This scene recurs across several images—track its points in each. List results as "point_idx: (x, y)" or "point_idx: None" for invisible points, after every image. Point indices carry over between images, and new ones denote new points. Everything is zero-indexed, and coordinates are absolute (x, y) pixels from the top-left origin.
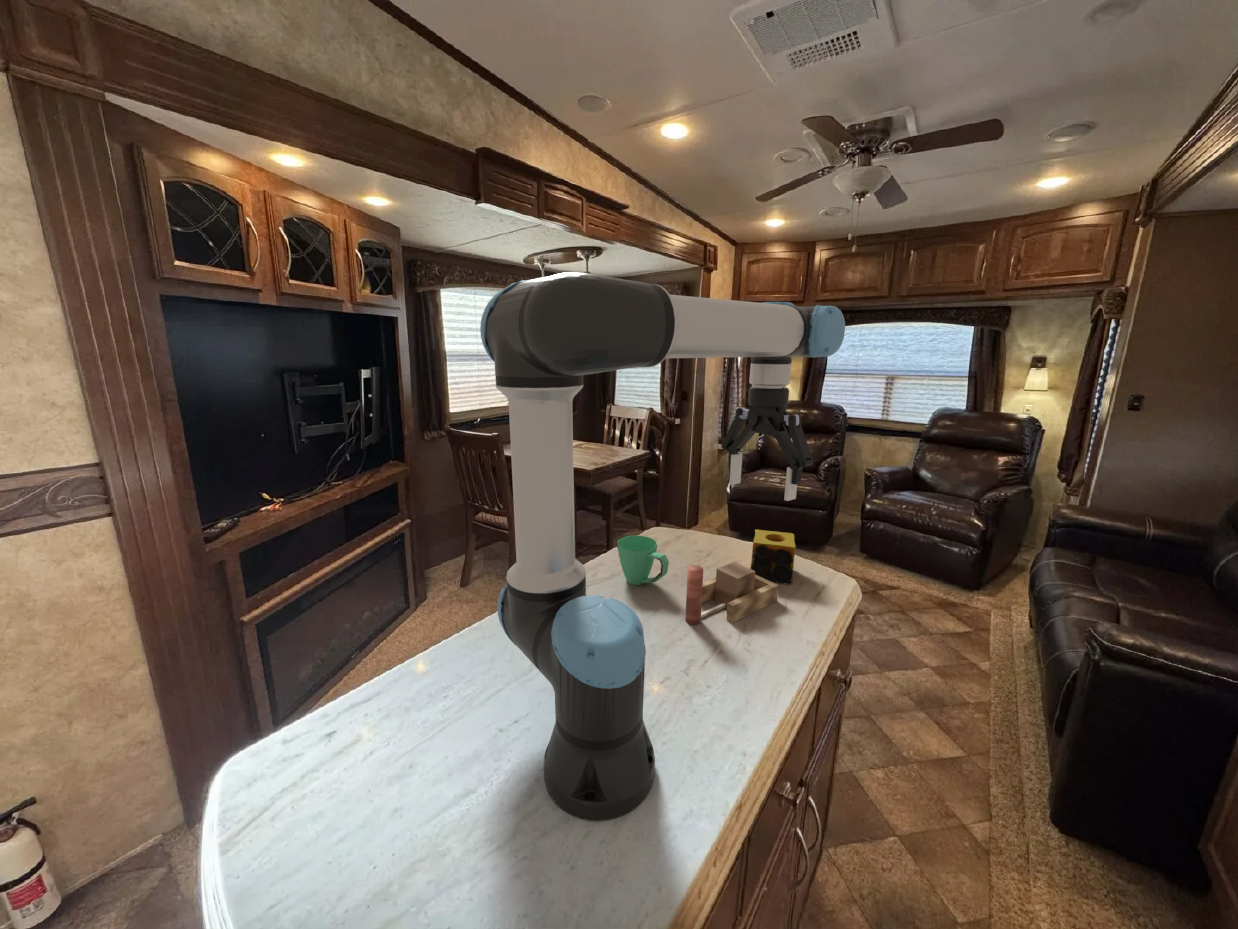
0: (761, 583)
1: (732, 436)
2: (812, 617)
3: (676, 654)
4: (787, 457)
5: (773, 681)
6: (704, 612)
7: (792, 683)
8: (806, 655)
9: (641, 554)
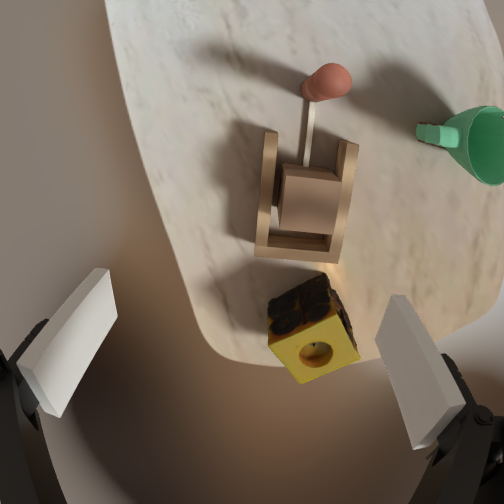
0: (282, 246)
1: (500, 498)
2: (193, 240)
3: (268, 9)
4: (11, 417)
5: (143, 67)
6: (312, 116)
7: (127, 84)
8: (145, 148)
9: (468, 118)
